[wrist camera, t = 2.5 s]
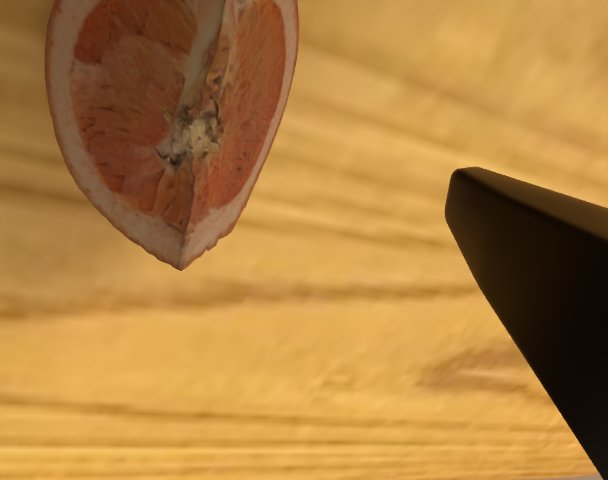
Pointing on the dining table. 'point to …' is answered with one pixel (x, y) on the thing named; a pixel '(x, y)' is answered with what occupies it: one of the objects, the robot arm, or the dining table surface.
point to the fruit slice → (169, 110)
